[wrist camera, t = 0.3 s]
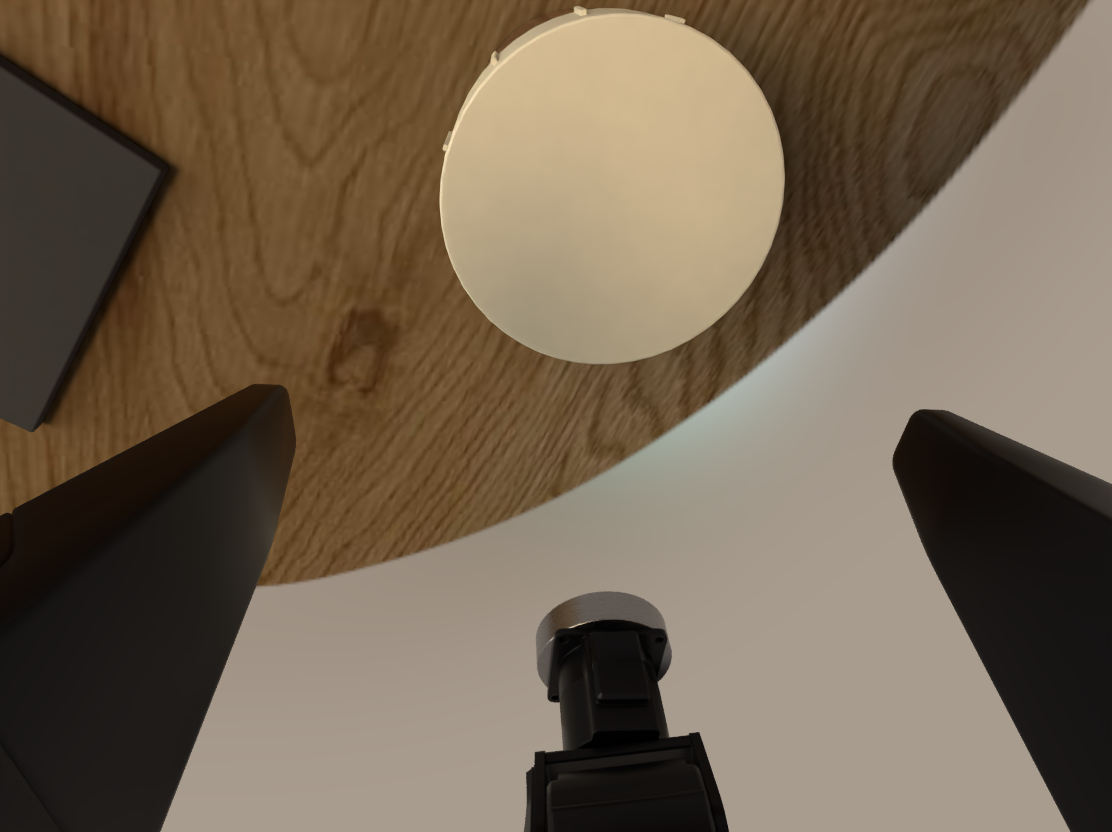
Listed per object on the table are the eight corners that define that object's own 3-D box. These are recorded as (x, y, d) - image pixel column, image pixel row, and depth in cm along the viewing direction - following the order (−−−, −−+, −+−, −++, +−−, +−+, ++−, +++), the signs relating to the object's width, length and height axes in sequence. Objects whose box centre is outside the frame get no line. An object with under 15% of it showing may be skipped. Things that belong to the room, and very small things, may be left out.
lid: (716, 331, 16) (740, 371, 15) (448, 318, 16) (442, 359, 14) (789, 24, 13) (832, 31, 11) (445, -9, 12) (435, -6, 10)
